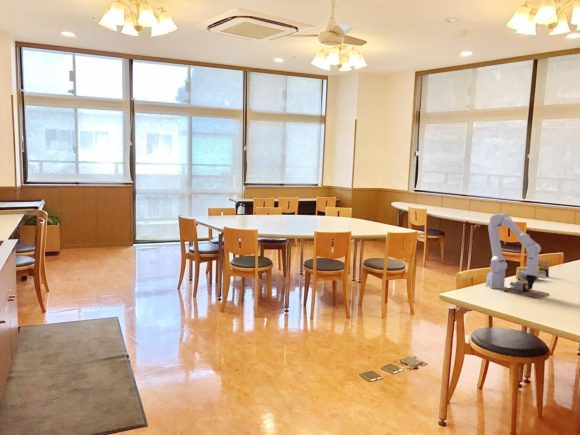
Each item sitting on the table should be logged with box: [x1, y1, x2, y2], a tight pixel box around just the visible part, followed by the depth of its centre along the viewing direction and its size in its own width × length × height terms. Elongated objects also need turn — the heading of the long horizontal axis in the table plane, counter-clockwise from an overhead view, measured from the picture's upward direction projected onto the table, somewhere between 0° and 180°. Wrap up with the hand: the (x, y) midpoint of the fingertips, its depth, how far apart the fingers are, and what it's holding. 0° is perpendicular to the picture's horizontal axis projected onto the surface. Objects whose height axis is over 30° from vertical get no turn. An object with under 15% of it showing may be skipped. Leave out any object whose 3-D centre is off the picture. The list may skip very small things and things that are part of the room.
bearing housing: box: [514, 280, 528, 292], centre depth 271 cm, size 4×7×5 cm, turn 131°
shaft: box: [510, 281, 530, 291], centre depth 272 cm, size 10×4×4 cm, turn 41°
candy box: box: [515, 266, 539, 280], centre depth 302 cm, size 16×2×8 cm, turn 105°
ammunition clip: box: [538, 257, 550, 278], centre depth 313 cm, size 11×2×12 cm, turn 49°
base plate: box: [503, 286, 549, 300], centre depth 269 cm, size 19×14×1 cm
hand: (530, 288), depth 267 cm, fingers closed
